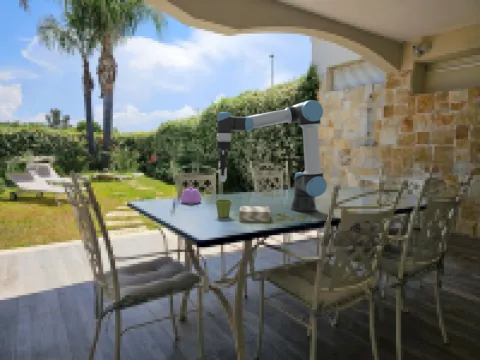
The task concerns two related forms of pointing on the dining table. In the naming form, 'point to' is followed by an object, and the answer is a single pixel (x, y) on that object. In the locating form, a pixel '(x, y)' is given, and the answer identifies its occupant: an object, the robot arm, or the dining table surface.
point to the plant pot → (223, 207)
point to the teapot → (191, 196)
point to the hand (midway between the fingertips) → (223, 180)
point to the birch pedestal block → (254, 213)
